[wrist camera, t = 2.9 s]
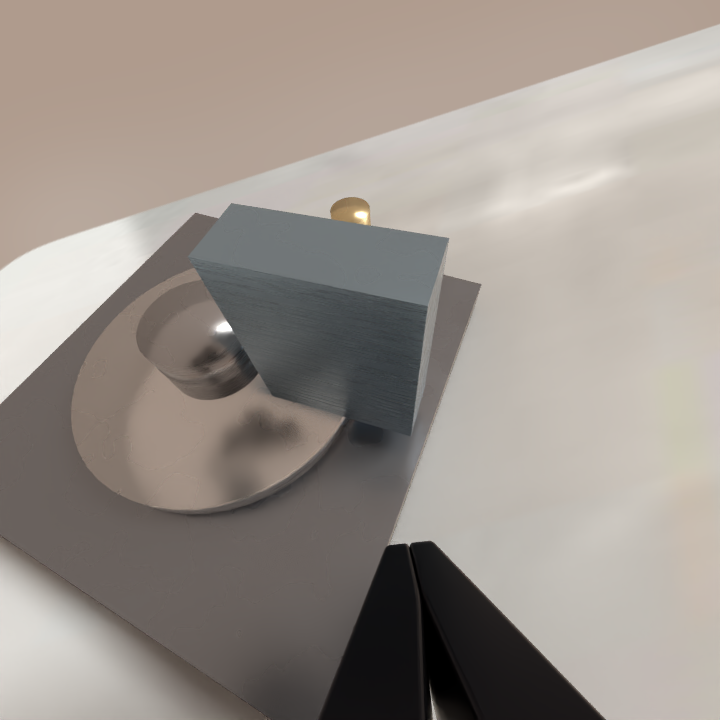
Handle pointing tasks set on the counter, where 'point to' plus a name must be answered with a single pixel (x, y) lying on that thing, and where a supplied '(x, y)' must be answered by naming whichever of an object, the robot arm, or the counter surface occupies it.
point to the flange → (258, 359)
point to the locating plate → (221, 519)
